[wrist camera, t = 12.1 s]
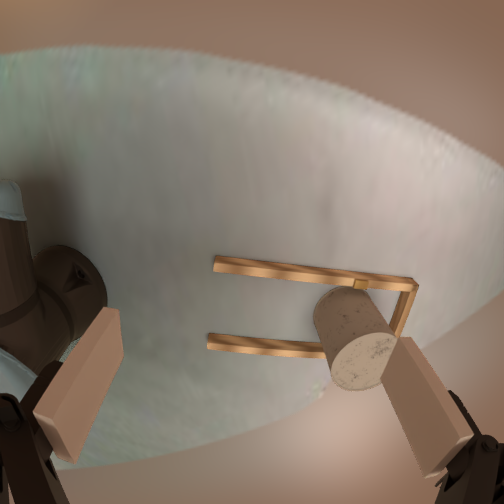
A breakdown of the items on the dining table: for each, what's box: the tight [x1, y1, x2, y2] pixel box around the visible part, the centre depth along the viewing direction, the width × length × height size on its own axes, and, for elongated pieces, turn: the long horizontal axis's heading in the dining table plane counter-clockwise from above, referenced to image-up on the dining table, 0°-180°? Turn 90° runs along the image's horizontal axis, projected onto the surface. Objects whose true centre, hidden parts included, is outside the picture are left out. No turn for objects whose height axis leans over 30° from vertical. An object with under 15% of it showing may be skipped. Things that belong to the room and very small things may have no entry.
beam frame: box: [207, 256, 419, 359], centre depth 44 cm, size 30×14×3 cm, turn 82°
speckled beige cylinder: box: [313, 286, 398, 391], centre depth 40 cm, size 10×10×12 cm
